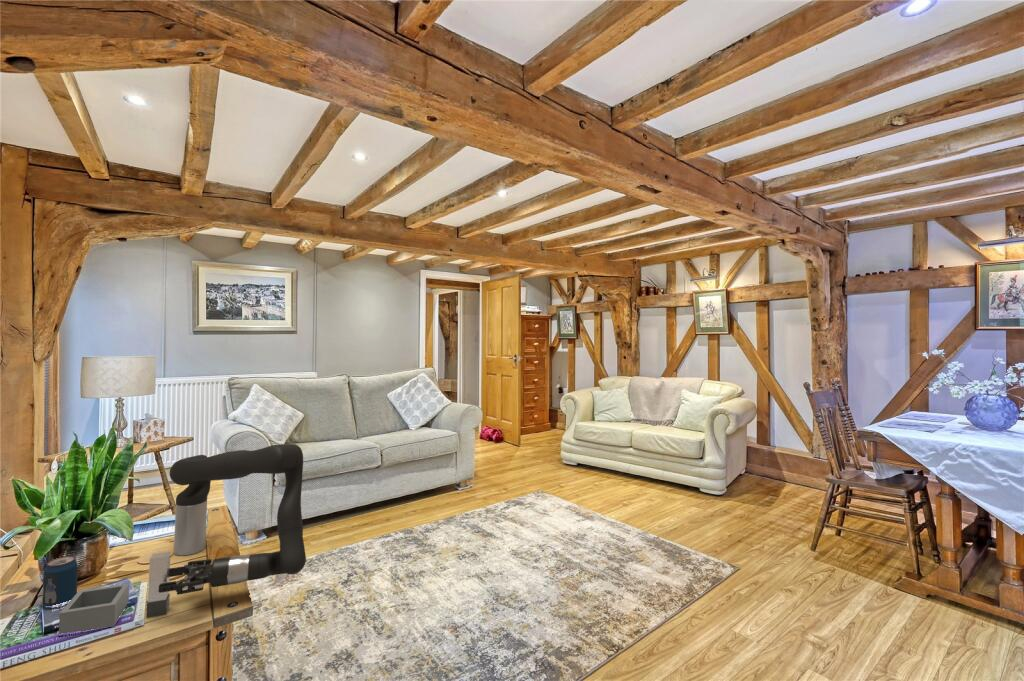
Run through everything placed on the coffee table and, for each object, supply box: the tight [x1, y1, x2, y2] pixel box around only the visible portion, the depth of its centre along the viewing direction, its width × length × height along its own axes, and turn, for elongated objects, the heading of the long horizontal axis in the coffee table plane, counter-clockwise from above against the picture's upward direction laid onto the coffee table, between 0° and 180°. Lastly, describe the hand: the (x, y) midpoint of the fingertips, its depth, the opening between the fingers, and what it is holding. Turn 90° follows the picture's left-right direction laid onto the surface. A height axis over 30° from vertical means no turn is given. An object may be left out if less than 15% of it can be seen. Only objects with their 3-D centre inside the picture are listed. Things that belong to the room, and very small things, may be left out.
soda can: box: [41, 555, 79, 607], centre depth 129 cm, size 7×7×12 cm
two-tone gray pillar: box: [145, 551, 172, 619], centre depth 126 cm, size 3×4×16 cm
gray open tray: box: [58, 583, 130, 635], centre depth 122 cm, size 11×11×6 cm
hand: (163, 580), depth 127 cm, fingers open, 8 cm apart
